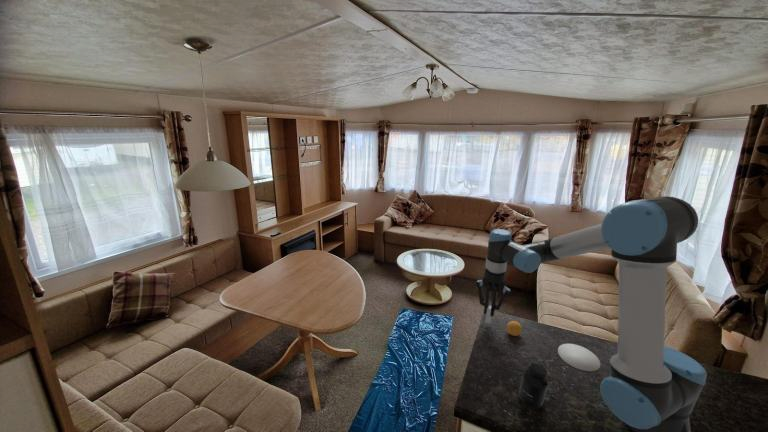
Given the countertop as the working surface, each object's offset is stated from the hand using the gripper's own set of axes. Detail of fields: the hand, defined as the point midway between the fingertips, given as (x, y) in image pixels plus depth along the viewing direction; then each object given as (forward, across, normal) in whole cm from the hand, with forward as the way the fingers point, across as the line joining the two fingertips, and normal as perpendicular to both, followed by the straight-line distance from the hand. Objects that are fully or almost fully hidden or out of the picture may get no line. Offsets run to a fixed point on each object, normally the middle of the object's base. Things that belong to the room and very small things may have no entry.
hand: (487, 321), depth 126 cm
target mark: (+2, -32, 0) cm, 32 cm away
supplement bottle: (+2, -20, +28) cm, 34 cm away
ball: (-1, -10, 0) cm, 10 cm away
